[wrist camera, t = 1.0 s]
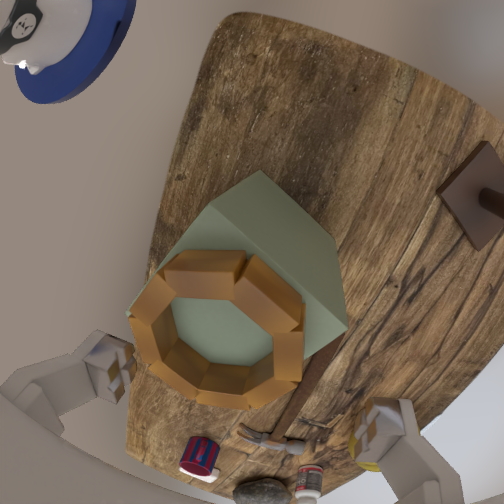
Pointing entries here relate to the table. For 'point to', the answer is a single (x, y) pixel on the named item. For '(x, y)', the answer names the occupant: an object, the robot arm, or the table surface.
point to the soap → (208, 478)
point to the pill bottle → (308, 484)
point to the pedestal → (276, 257)
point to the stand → (477, 195)
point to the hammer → (295, 404)
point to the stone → (262, 492)
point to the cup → (199, 456)
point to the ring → (244, 298)
